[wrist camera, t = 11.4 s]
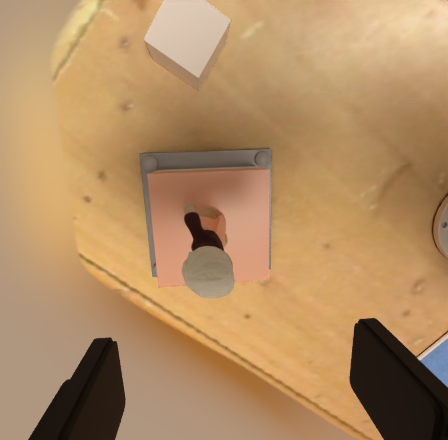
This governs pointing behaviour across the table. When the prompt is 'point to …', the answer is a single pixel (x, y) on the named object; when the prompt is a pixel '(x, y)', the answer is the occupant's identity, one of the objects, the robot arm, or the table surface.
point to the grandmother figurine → (207, 254)
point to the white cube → (187, 38)
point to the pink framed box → (208, 199)
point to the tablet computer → (437, 359)
